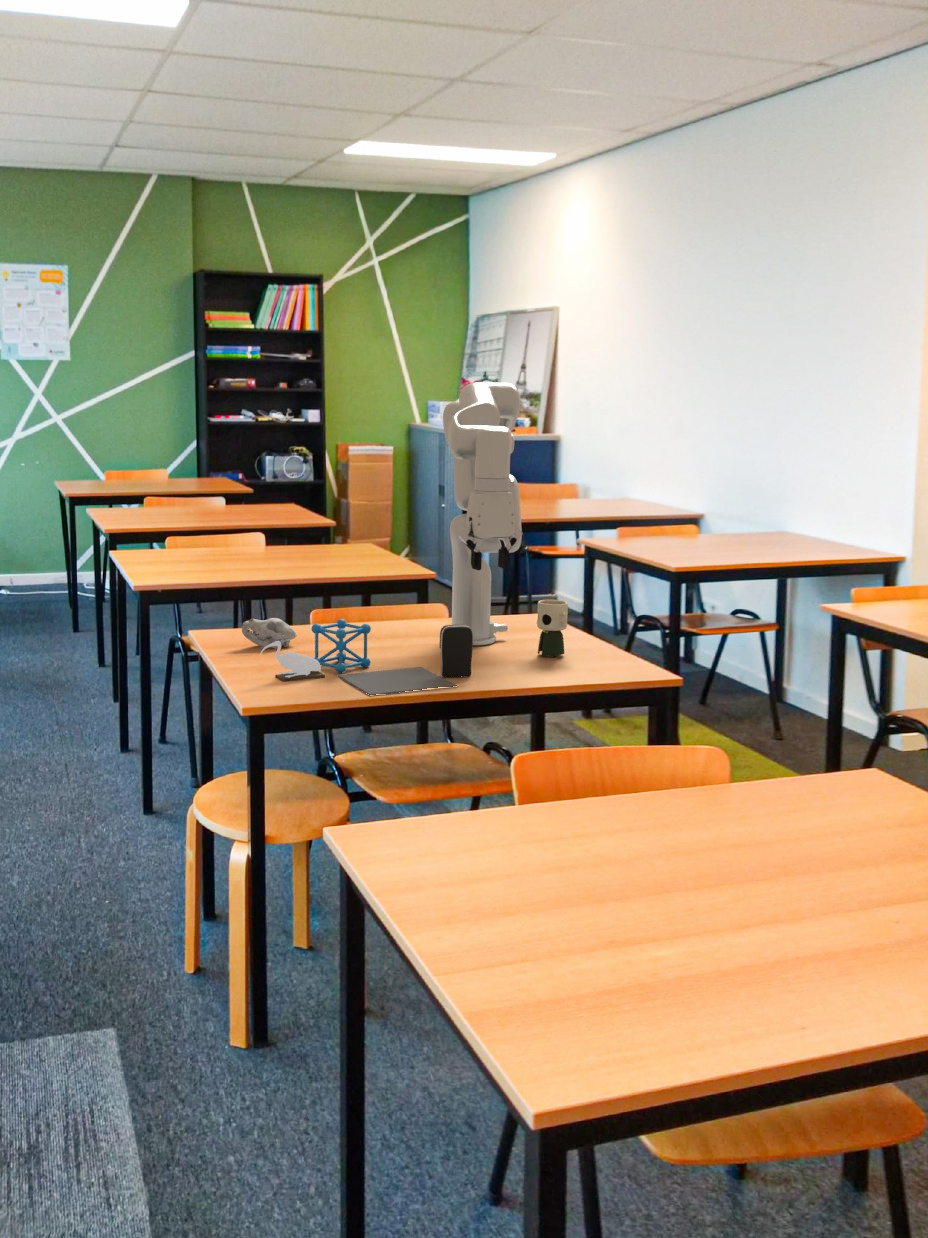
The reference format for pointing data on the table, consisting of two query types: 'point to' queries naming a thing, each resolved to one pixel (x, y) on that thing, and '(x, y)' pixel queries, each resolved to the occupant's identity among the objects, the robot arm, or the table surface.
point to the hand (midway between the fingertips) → (489, 567)
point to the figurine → (296, 665)
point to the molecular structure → (341, 644)
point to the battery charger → (456, 650)
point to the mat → (395, 680)
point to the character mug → (552, 626)
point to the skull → (268, 632)
